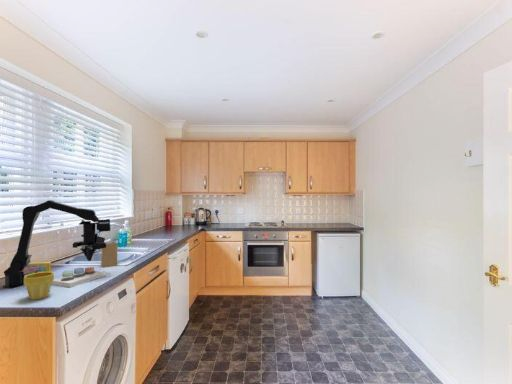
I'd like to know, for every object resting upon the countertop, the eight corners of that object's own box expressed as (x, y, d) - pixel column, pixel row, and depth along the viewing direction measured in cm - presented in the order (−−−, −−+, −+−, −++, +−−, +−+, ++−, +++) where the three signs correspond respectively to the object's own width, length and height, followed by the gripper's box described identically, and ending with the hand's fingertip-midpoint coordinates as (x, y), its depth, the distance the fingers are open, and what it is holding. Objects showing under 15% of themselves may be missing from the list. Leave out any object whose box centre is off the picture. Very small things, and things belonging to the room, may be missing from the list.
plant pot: (50, 291, 127) (50, 270, 127) (56, 296, 121) (56, 274, 121) (21, 297, 119) (21, 275, 119) (26, 303, 113) (26, 279, 113)
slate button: (77, 274, 141) (77, 270, 141) (71, 273, 142) (71, 269, 142) (85, 271, 145) (85, 268, 145) (79, 271, 146) (79, 267, 146)
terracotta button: (88, 273, 146) (88, 269, 146) (82, 272, 148) (82, 268, 148) (95, 271, 151) (95, 267, 151) (90, 270, 152) (90, 266, 152)
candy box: (16, 278, 146) (16, 263, 146) (20, 277, 149) (20, 262, 149) (49, 277, 148) (49, 262, 148) (51, 276, 150) (51, 261, 150)
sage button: (66, 277, 135) (66, 273, 135) (60, 276, 137) (60, 272, 137) (75, 275, 139) (74, 271, 139) (68, 274, 141) (68, 270, 141)
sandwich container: (115, 261, 185) (115, 238, 185) (117, 265, 172) (117, 242, 172) (100, 262, 180) (100, 240, 181) (102, 268, 167) (101, 243, 168)
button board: (69, 287, 132) (69, 282, 132) (49, 284, 137) (49, 279, 137) (105, 275, 151) (105, 271, 151) (86, 273, 155) (86, 269, 155)
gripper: (114, 231, 154) (114, 258, 154) (90, 229, 160) (90, 256, 160) (97, 233, 143) (97, 263, 143) (71, 232, 150) (71, 260, 150)
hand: (89, 260), depth 149 cm, fingers closed
